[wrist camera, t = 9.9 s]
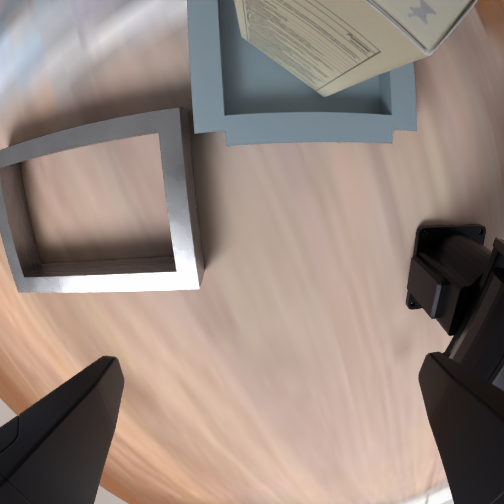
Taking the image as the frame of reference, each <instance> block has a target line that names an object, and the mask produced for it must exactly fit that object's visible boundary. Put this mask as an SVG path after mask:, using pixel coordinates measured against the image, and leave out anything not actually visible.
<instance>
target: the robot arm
mask: <svg viewBox="0 0 504 504" xmlns="http://www.w3.org/2000/svg"><path fill="white" fill-rule="evenodd" d="M480 229H481V231H480ZM424 231H425V234H424V235H423V236H422V233H423V232H424ZM479 231H480V233H479ZM485 233H486V229H485V227H484V226H483V225H481V224H465V225H433V226H420V227H419V228H418V229H417V232H416V238H415V247H414V254H413V257H412V258H411V265H410V272H409V278H408V284H407V289H408V293H407V298H406V305H407V307H408V308H409V309H412V310H413V309H420V308H423V309H424V310H425V311H426V313H427V314H428V315H429V316H430V317H431V319H436V320H437V321H438V322H439V323H440V325H441V326H442V327H443V329H444V330H445V331H446V332H447V334H448V335H449V336H452V335H454V336H453V338H452V340H451V342H450V344H449V346H448V347H447V349H446V351H445V352H444V353H441V352H433V353H428V354H427V355H426V357H425V359H424V362H423V364H422V367H421V369H420V372H419V384H420V387H421V391H422V395H423V399H424V403H425V408H426V412H427V416H428V420H429V423H430V426H431V429H432V432H433V435H434V438H435V441H436V444H437V447H438V450H439V453H440V456H441V459H442V463H443V466H444V469H445V473H446V476H447V480H448V483H449V487H450V490H451V494H452V498H453V501H454V504H504V240H502V239H499V238H495V240H494V243H493V247H494V248H493V250H492V252H491V251H490V250H489V249H487V248H486V247H484V246H483V244H484V239H485ZM413 301H414V302H413ZM412 302H413V303H412ZM411 303H412V304H411ZM123 388H124V376H123V373H122V370H121V367H120V364H119V361H118V359H117V358H116V357H113V356H102V357H101V358H99V359H98V360H96V361H95V362H93V363H92V364H91V365H89V366H88V367H86V368H85V369H83V370H82V371H81V372H79V373H78V374H76V375H75V376H73V377H72V378H71V379H69V380H68V381H66V382H65V383H63V384H62V385H61V386H59V387H58V388H56V389H55V390H53V391H52V392H50V393H49V394H48V395H46V396H45V397H43V398H42V399H40V400H39V401H38V402H36V403H35V404H33V405H32V406H30V407H29V408H28V409H26V410H25V411H23V412H22V413H20V414H19V416H16V417H15V418H13V419H12V420H10V421H9V422H7V423H6V424H4V425H3V426H1V427H0V504H94V501H95V497H96V494H97V490H98V486H99V483H100V479H101V475H102V472H103V468H104V465H105V461H106V458H107V455H108V451H109V448H110V445H111V441H112V438H113V435H114V431H115V428H116V423H117V418H118V413H119V407H120V402H121V397H122V392H123Z"/></svg>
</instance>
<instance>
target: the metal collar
mask: <svg viewBox="0 0 504 504" xmlns="http://www.w3.org/2000/svg"><path fill="white" fill-rule="evenodd" d="M154 133H159V140H160V150H161V160H162V169H163V178H164V186H165V194H166V202H167V210H168V217H169V224H170V231H171V238H172V245H173V251H174V256H162V257H144V258H127V259H110V260H93V261H75V262H58V263H41V262H40V258H39V255H38V251H37V247H36V243H35V239H34V235H33V231H32V227H31V223H30V218H29V214H28V209H27V204H26V199H25V194H24V188H23V182H22V176H21V170H20V162H23V161H26V160H30V159H33V158H37V157H41V156H44V155H48V154H52V153H56V152H60V151H65V150H69V149H73V148H78V147H82V146H87V145H92V144H96V143H101V142H107V141H112V140H117V139H123V138H129V137H135V136H141V135H147V134H154ZM0 233H1V237H2V241H3V244H4V248H5V252H6V255H7V258H8V262H9V265H10V268H11V271H12V275H13V278H14V281H15V284H16V286H17V289H18V292H122V291H159V290H187V289H200V285H201V282H202V278H203V275H204V272H205V269H204V262H203V254H202V246H201V238H200V229H199V220H198V212H197V202H196V193H195V183H194V173H193V163H192V152H191V140H190V128H189V115H188V109H184V108H180V107H178V108H171V109H164V110H158V111H151V112H145V113H139V114H134V115H128V116H123V117H118V118H113V119H108V120H104V121H99V122H95V123H90V124H86V125H82V126H78V127H74V128H70V129H66V130H62V131H59V132H55V133H52V134H48V135H45V136H41V137H38V138H35V139H31V140H28V141H25V142H22V143H19V144H16V145H13V146H10V147H7V148H4V149H2V150H0Z"/></svg>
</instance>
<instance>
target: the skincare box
mask: <svg viewBox="0 0 504 504" xmlns="http://www.w3.org/2000/svg"><path fill="white" fill-rule="evenodd" d="M477 1H478V0H234V2H235V7H236V12H237V18H238V23H239V28H240V33H241V37H242V38H244V39H245V40H246V41H248V42H249V43H250V44H252V45H253V46H255V47H256V48H257V49H259V50H260V51H262V52H263V53H264V54H266V55H267V56H268V57H270V58H271V59H273V60H274V61H275V62H277V63H278V64H279V65H281V66H282V67H284V68H285V69H286V70H288V71H289V72H290V73H292V74H293V75H294V76H296V77H297V78H298V79H300V80H301V81H302V82H304V83H305V84H306V85H308V86H309V87H310V88H312V89H313V90H314V91H316V92H317V93H318V94H320V95H321V96H322V97H327V96H329V95H332V94H334V93H336V92H338V91H341V90H343V89H345V88H348V87H350V86H353V85H355V84H357V83H360V82H362V81H365V80H367V79H370V78H372V77H374V76H377V75H379V74H382V73H385V72H387V71H390V70H392V69H395V68H398V67H401V66H403V65H406V64H409V63H411V62H414V61H417V60H420V59H424V58H427V57H429V56H431V55H433V53H434V52H435V51H436V50H437V49H438V48H439V46H440V45H441V44H442V43H443V42H444V41H445V40H446V39H447V38H448V36H449V35H450V34H451V33H452V32H453V30H454V29H455V28H456V27H457V26H458V25H459V24H460V22H461V21H462V20H463V19H464V17H465V16H466V15H467V14H468V13H469V12H470V10H471V9H472V8H473V6H474V5H475V4H476V3H477Z"/></svg>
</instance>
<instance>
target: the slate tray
mask: <svg viewBox="0 0 504 504" xmlns="http://www.w3.org/2000/svg"><path fill="white" fill-rule="evenodd" d="M187 12H188V38H189V59H190V76H191V92H192V107H193V120H194V133H195V134H197V133H206V132H217V131H226V145H227V146H233V145H248V144H267V143H293V142H365V143H391V144H392V129H394V130H407V131H417V114H416V90H415V74H414V62H411V63H409V64H406V65H403V66H401V67H398V68H395V69H392V70H390V71H387V72H385V73H382V74H379V75H377V76H374V77H372V78H370V79H367V80H365V81H362V82H360V83H357V84H355V85H353V86H350V87H348V88H345V89H343V90H341V91H338V92H336V93H334V94H332V95H329V96H327V97H322V96H321V95H320V94H318V93H317V92H316V91H314V90H313V89H312V88H310V87H309V86H308V85H306V84H305V83H304V82H302V81H301V80H300V79H298V78H297V77H296V76H294V75H293V74H292V73H290V72H289V71H288V70H286V69H285V68H284V67H282V66H281V65H279V64H278V63H277V62H275V61H274V60H273V59H271V58H270V57H268V56H267V55H266V54H264V53H263V52H262V51H260V50H259V49H257V48H256V47H255V46H253V45H252V44H250V43H249V42H248V41H246V40H245V39H244V38H242V37H241V33H240V28H239V23H238V18H237V12H236V7H235V2H234V0H187Z"/></svg>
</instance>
